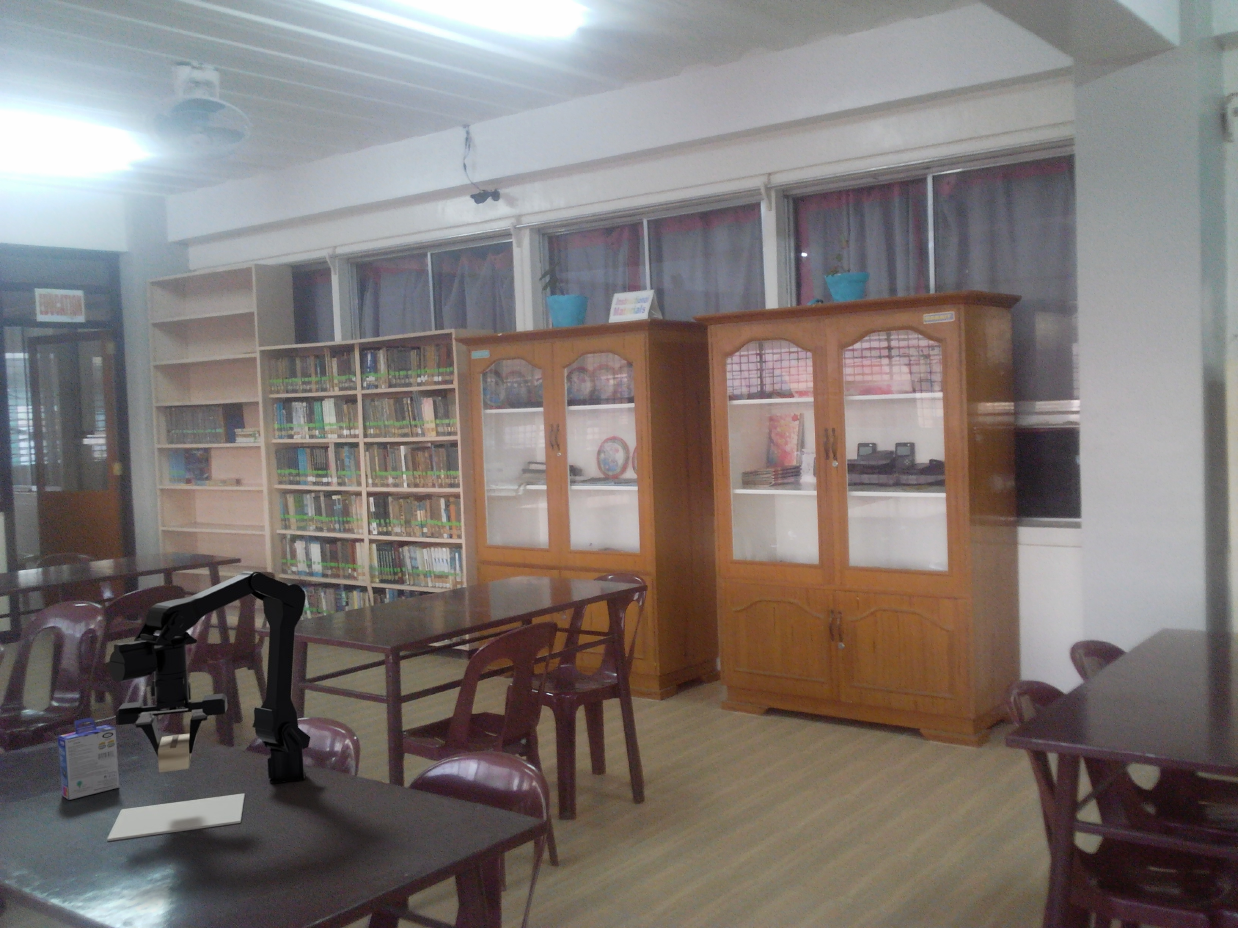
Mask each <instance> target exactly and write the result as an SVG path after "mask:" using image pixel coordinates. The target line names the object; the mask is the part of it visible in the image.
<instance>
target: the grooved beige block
mask: <svg viewBox="0 0 1238 928" xmlns="http://www.w3.org/2000/svg"><path fill="white" fill-rule="evenodd" d="M189 734H190V732H189V733H183V734H178V733H177V734H173V735H168V736H167V735H165V736H161V739H160V745H159V748H158V756H157V758H158V773H166V772H175V771H180V770H188V769H190V764H191V758H192V754H190V753H189Z"/></svg>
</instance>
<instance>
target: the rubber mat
mask: <svg viewBox="0 0 1238 928" xmlns="http://www.w3.org/2000/svg"><path fill="white" fill-rule="evenodd" d="M245 796H246V793H237V794H230V795H229V794H228V795H222V796H221V795H220V796H214V797H206V798H200V799H199V798H198V799H191V800H183V801H176V802H168V803H161V804H160V803H159V804H153V805H147V806H146V805H145V806H138V807H130V808H122V809H120V812H119V814H118V816H117V818H116V820H115V823H114V824H113V826H112V828H111V830H110V832H109V834H108V835H107V838H106V842H113V841H118V840H127V839H132V838H140V837H148V836H149V837H150V836H154V835H162V834H170V833H175V832H177V833H178V832H183V831H185V832H186V831H191V830H199V829H206V828H213V827H220V826H229V825H235V824H241V822H242V817H243V816H242V815H243V809H244V803H245Z"/></svg>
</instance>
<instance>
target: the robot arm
mask: <svg viewBox="0 0 1238 928" xmlns="http://www.w3.org/2000/svg"><path fill="white" fill-rule="evenodd" d="M249 595H251V596H252V597H253V598H255V599H257V600H259V601H261V602H262V605H263V613H264V616H265V619H266V621H267V624H268V627H269V637H268V638H269V640H268V654H267V672H266V673H267V674H266V689H265V690H266V691H265V692H266V693H265V699H264V701H263V703H262V704H261V706H260V707H259V706H258V707H257V706H256V707H254V710H253V715H254V716H253V717H254V718H253V719H254V720H253V723H252V726H251V727H252V728H254V731H255V732H254V733H255V735H256V737H257V738H258V739H259V740H261V741H262V744H263V748H268V749H269V750H270V751H269V752H270V753H269V754H268V755H267V773H268V779H269V780H270V784H278V783H279V784H280V783H286V782H294V781H295V782H297V781H304V780H305V778H306V777H305V770H306V769H305V768H304V767H305V766H304V749H308V748H309V746H310V742H311V737H310V735H309V734H307V733H306V732H305V731H304V730H302V729H301V728H300V727H299V718H298V711H297V709H296V707H295V704H294V703H293V700H292V687H293V669H294V668H293V667H294V653H295V651H294V648H295V636H296V635H295V634H296V626H297V625H298V623H299V621H300V620H301V618H302V616H303V614H304V609H305V606H306V599H307V597H306V592H305V590H304V589H303V587H302V586H300V585H299V584H295V583H286V582H283V581H281V580H277V579H276V578H272V577H270V576H268V575H266V574H264V573H262V572H260V571H257V570H255V571H254V570H244V571H242V572H241V573H239V574H238V575H236V576H234V577H231V578H229V579H227V580H224V581H222V582H220V583H217V584H216V585H213V586H211V587H210V588H209V587H208V588H207V589H204V590H202V591H200V592H198V593H195V594H193V595H190V596H187V597H183V598H177V599H170V600H166V601H162V602H158V603H155V604H154V605H152V606H151V607H150V608H148V612H147V614H146V618H145V621H144V623H143V624H142V626H141V628H140V629H139V631H138V632H137V635H135V638H134V640H133V641H130V642H119V643H115V644H114V645H113V652H112V653H111V654H110V656H109V661H108V662H107V663H108V664H107V665H108V671H109V674H110V677H111V678H112V680H113V681H114V682H116V683H118V684H119V683H123V682H124V683H125V682H128V681H132V680H137V679H138V680H139V679H142V678H146V677H150V676H151V675H152V674H154V675H153V678H154V679H153V680H151V684H150V696H151V698H153V699H154V700H155V705H145V706H144V703H143V701H134V702H133V701H132V702H126V703H124V702H123V703H122V704H121V705H120V706H119V708H118V709H117V710H116V711H115V725H116V726H122V725H132V724H135V725H134V727H135V728H138V729H140V728H141V731H143V733H144V734H145V735H146V737H147V738H148V740H149V742H150V745H151V746H152V747H153V751H154V752H155V754H156V756H157V757H158V748H159V745H160V742H161V739H160V735H159V729H158V717H157V716H165V715H174V714H185V713H191V714H192V715H191V717H190V721H189V733H190V734H189V733H188V734H189V753H190V754H191V755H192V754H193V751H194V747H195V744H196V743H195V742H196V740H197V736H198V733H199V732H198V731H199V729H200V727H201V724H202V722H204V721H207V720H209V717H211V716H218V715H224V714H226V713H227V709H228V697H227V695H226V694H225V693H215V694H206V695H204V696H203V698H202V700H196V701H190V700H191V699H192V690H191V689H192V688H191V683H190V681H189V679H188V677H189V676H188V661H187V660H188V659H187V658H188V657H187V646H189V645H194V644H197V643H198V640H197V639H196V638H195V637H193V636H192V635H190V633H189V632H188V631H189V630H191V629H192V628H193V627H195V626H196V625H197V624H198V623H199V622H200V621H201V619H203V618H204V617H205V616H207V615H209V614H211V613H214V612H216V611H217V610H219V609H222V608H223V607H226V606H228V605H230V604H232V603H234V602H236V601H238V600H241V599H242V598H245V597H247V596H249Z"/></svg>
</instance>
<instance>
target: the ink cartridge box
mask: <svg viewBox="0 0 1238 928" xmlns="http://www.w3.org/2000/svg"><path fill="white" fill-rule="evenodd" d="M73 723H74V728H75V729H74V730H75V732H70V733H65V734H62V735H57V745H58V746H57V747H58V757H59V758H58V759H59V769H60V783H61V796H62V797H64V798H66V800H68V801H70V800H71V801H72V800H74V799H75V800H76V799H78V798H83V797H87V796H90V795H94V794H99V793H102V792H103V793H104V792H107V791H111V790H113V789H114V790H115V789H119V788H120V777H119V764H118V762H119V761H118V747H117V745H118V744H117V732H116V731H117V730H116V728H115V727H113V726H111V725H109V724H105V725H99V726H96V724H95V720H94V718H93V717H87V718H83V719H78V720H77V719H76V720H74V721H73ZM82 723H90V724H88V725H83V726H79V725H81V724H82Z"/></svg>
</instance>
